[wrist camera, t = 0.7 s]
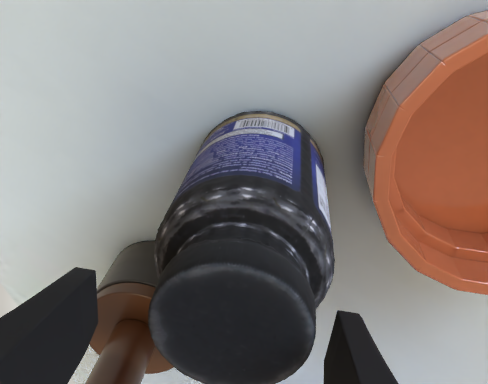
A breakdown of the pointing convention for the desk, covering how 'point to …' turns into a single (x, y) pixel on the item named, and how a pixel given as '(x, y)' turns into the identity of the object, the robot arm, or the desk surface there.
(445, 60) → the dish
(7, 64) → the desk surface
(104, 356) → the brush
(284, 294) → the pill bottle
